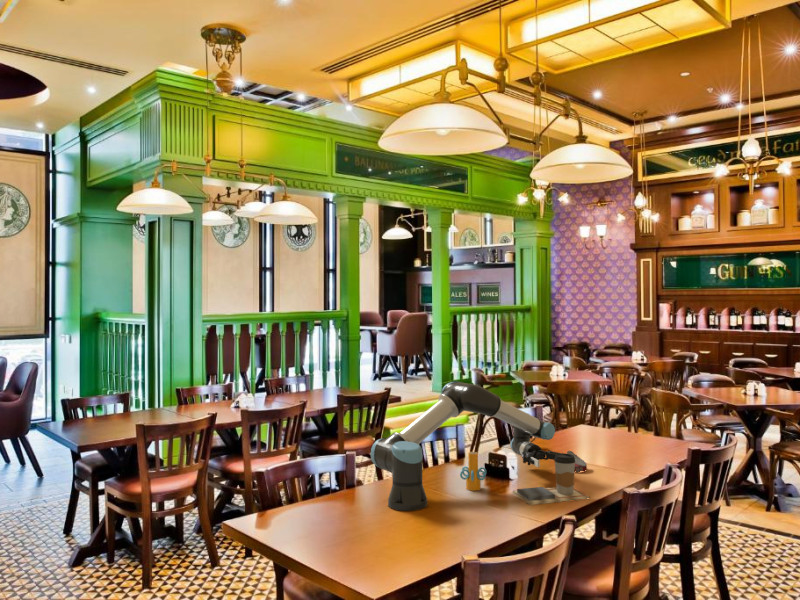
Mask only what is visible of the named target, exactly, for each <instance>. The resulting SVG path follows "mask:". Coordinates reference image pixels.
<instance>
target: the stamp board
mask: <svg viewBox="0 0 800 600" xmlns="http://www.w3.org/2000/svg"><path fill="white" fill-rule="evenodd" d="M511 493H512V494H513V495H514V496H515V497H518V498H519V499H520V500H522V502H524V503H526V504H528V505H529V506H533V505H543V504H544V505H545V504H555V503H554V502H556V503H563V502H562V501H567V502H571V501H570V500H577V499H587V498H590V499H591V496H588V495H587V494H585V493H583V492H582V491H579V490H577V489H576V488H575V487H574V488H573V493H572V494H571V495H562V494H559V493H558V492H557V486H556V487H543V486H538V487H525V488H524V487H522V488H517V489H516V490H512V492H511ZM577 501H578V500H577Z"/></svg>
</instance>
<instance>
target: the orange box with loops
mask: <svg viewBox="0 0 800 600" xmlns="http://www.w3.org/2000/svg"><path fill="white" fill-rule="evenodd" d="M467 457H468V458H467V459H468V463H467V464H468V465H467V466H463V467H462V469H461V471H460V473H459V476H460V478H461V479H462V480H465V481H466V482H465V483H466V484H465V486H466V490H467V491H470V490H471V492H473V491H474V492H475V491H481V486H482V483H481V482H482V481H484V480H485V478H486V475H487V469H486V468H485V467H482V466H480V467H479V452H477V451H469V452H468V453H467ZM465 472H466V474H465ZM480 472H481V473H482V475H481V474H480ZM463 476H464V477H463Z"/></svg>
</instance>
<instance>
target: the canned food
mask: <svg viewBox="0 0 800 600" xmlns="http://www.w3.org/2000/svg"><path fill="white" fill-rule="evenodd" d="M566 454H571V455H574V458H575V469H574V472H575V471H576V472H580V471H585V470H587V471H588V469H587V468H588V467H587V466H588V465H587V462H585V460H583V459H582V458H581V457H579V456H578V455H577V454H576V453H574V451H572V450H567V452H566Z"/></svg>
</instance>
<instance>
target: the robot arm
mask: <svg viewBox="0 0 800 600" xmlns="http://www.w3.org/2000/svg"><path fill="white" fill-rule="evenodd" d="M463 412H469V413H476V414H480V415H485V416H486V417H490V418H492V417H494V418H496V419H498V420H501V421H503V422H504V423H507V424H509V425H512V426H513V427H512V428H513V438H512V439H511V441H510V449H511V450H512V452H514V453H515V454H516V455H518V456H521V458H522V463H523V464H526V463H527V466H531V465H533V466H535V467H536V468H540V460H545V461H547V460H552V461H554V458H555V455H556V454H562V453H563V452H557V451H553V450H550V449H548V450H547V451H545V450H543V449H542V448H541V446H539V445H537V444H535V443H534V442H531V437H533V438H534V437H536V438H537V439H541V440H547V441H549V440H552V439H553V438H554V436H555V433H556V427H555V426H554V424H552V423H551V422H548V421H543V420H542V419H539V418H537V417H535V416H533V415H531V414H529V413H528V412H525V411H523V410H521V409H520V408H517V407H515V406H513V405H511V404H509V403H507V402H505V401H503V400H502V399H501V398H500V396H499V395H497V394H495V393H493V392H492V391H489V390H487V389H486V388H484V387H482V386H480V385H477V384H473V383H466V382H463V381H462V382H461V381H451V382H448V383H445V385H444V386H443V387H442V389H441V393H440V395H438V401H437V402H435V403H434V404H433V405H432V406H430V407H429V408H428V409H427V410H425V411H424V412H423V413H422V414H421V415H419V416H418V417H417V418H416V419H415V420H414V421H412V422H411V423H409V424H408V425H407V426H406V427H405V428H404V429H402V430H401V431H400V432H393V433H392V434H390V435H389V436H388V437H387V438H385V437H384V438H379V439H377V440H375V442H374V443H373V444H372V446H371V449H370V459H371V462H372V464H373V465H375V467H377V468H379V469H380V470H384V471H386V472H388V473H391V474H392V479H391V480H392V485H391V490H390V492H389V495H388V499H387V502H388V503H387V505H388V507H389V508H390V509H392V510H395V511H403V512H407V511H408V512H412V511H419V510H422V509H425V508H427V507H428V498H427V494H426V491H425V489H424V485H423V457H424V455H423V449H422V446H421V445H420V444H421V443H422V442H423V441H424V440H425V439H427V438H428V437H429V436H430V435H431V434H433V433H434V432H435V431H436V430H437V429H438V428H440V427H441V426H442V425H443V424H444V423H446V422H447V421H448V420H449V419H451V417H452V418H457V417H458V416H460V415H461V414H462V413H463Z"/></svg>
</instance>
